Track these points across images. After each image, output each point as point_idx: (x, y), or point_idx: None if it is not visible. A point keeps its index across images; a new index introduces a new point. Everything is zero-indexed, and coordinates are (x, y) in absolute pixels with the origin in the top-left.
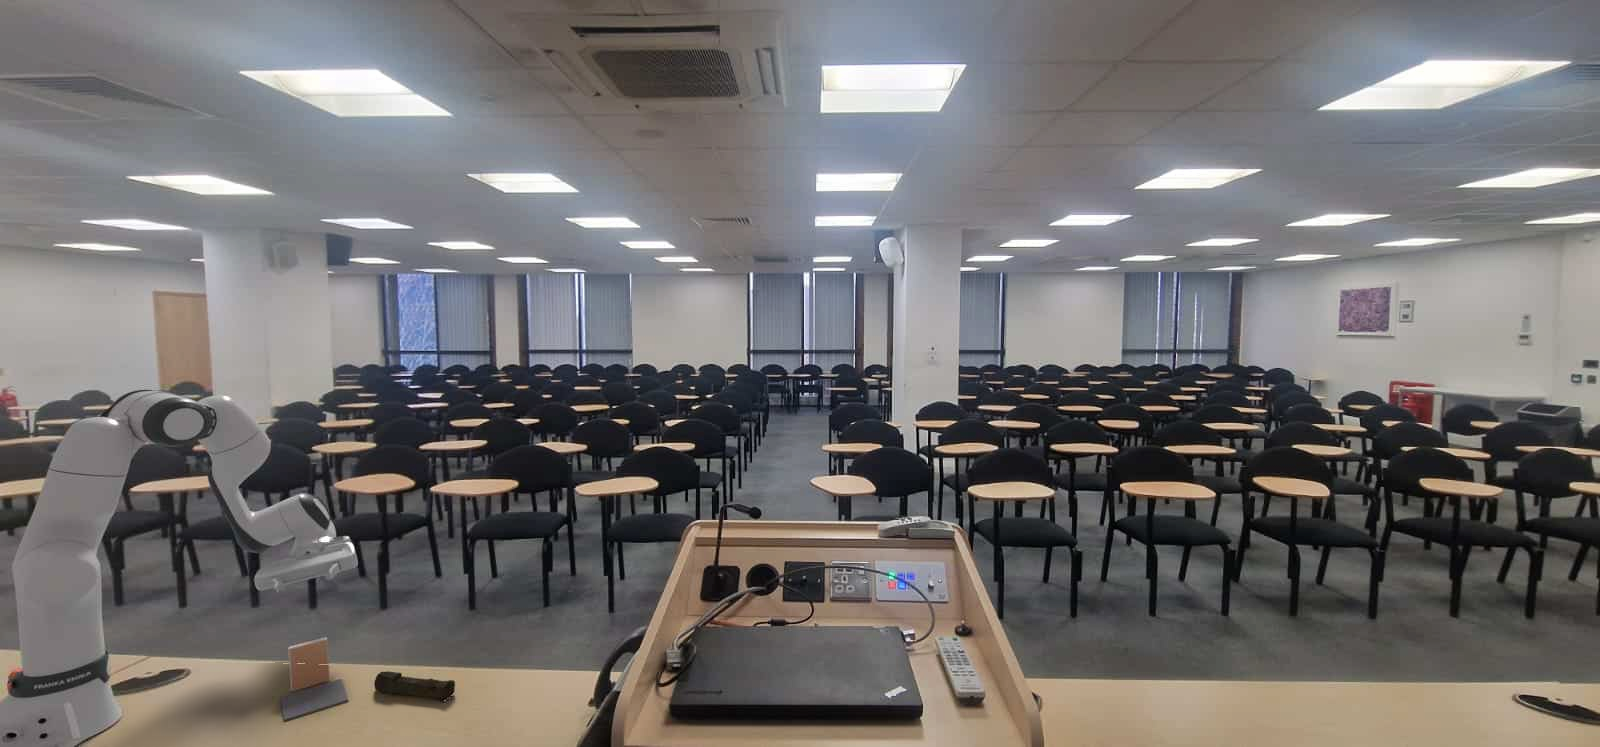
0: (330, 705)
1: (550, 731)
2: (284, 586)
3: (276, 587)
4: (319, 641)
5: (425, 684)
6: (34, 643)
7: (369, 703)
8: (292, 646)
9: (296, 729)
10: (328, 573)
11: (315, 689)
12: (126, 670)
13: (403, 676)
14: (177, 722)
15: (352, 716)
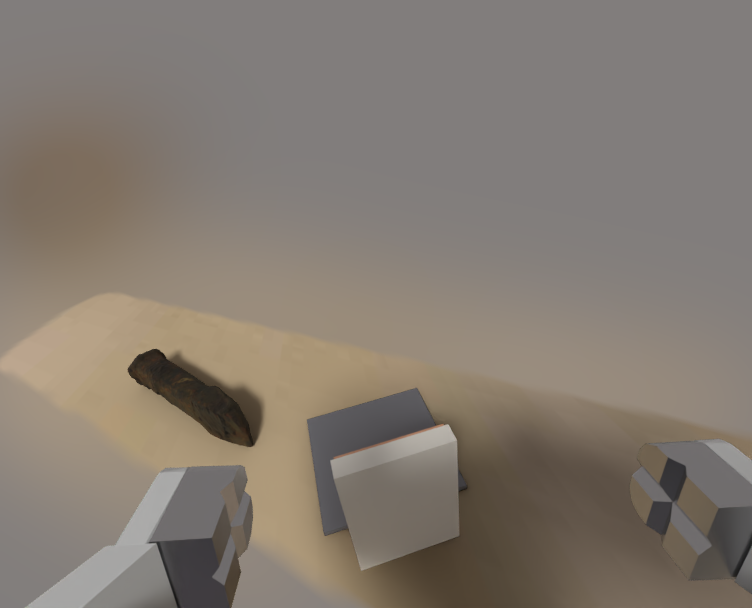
0: (340, 411)
1: (113, 296)
2: (673, 527)
3: (696, 441)
4: (356, 453)
5: (172, 365)
6: None
7: (272, 402)
8: (441, 437)
9: (387, 365)
10: (196, 468)
11: None
12: None
13: (192, 396)
14: None
15: (302, 374)
